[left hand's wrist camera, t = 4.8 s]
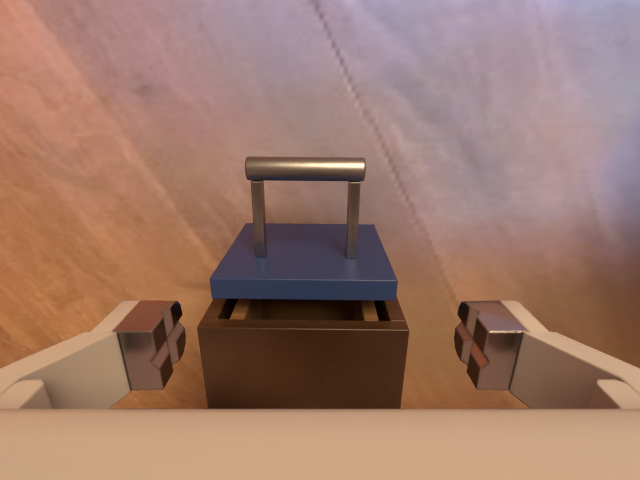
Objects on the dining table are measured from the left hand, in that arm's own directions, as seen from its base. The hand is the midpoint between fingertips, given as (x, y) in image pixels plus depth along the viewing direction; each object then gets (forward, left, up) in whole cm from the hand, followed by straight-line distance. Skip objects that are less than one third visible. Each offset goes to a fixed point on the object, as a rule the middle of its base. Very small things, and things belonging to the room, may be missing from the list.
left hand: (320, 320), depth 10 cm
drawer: (+6, 0, -16) cm, 17 cm away
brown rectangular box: (+12, +1, -17) cm, 21 cm away
